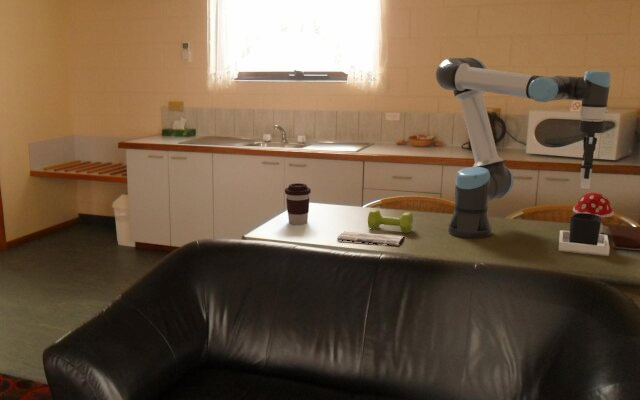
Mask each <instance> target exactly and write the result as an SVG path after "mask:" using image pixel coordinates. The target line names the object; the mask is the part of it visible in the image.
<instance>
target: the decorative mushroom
mask: <svg viewBox="0 0 640 400" xmlns="http://www.w3.org/2000/svg"><path fill="white" fill-rule="evenodd" d="M572 211H573V213H575V214H577V213H588V214H594V215H597V216H600V217H601V218H609V217H612V216H614V215H615V211H614V209H612V206H611V202H610V200H609V199H608V197H606V196H605V195H604V194H601V193H599V192H588V193H585V194H583V195H582V196H581V197H580V198H579V199H578V201H577V203H576V204H575V205H574V206H573V209H572ZM603 232H604V225H603V223H602V221H601V225H600V231H599V234H602V233H603Z"/></svg>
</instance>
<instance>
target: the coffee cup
mask: <svg viewBox="0 0 640 400" xmlns="http://www.w3.org/2000/svg"><path fill="white" fill-rule="evenodd" d="M311 190H312V189H311V188H310V187H308V185H307V184H305V183H299V182H297V183H296V182H295V183H291V184H289V185H288V187H285V188H284V193H285V195H286V210H287V212H286V213H287V214H288V215H287V216H288V223H289V224H291V225H295V224H301V225H305V224H307V223H308V218H309V209H310V194H311Z"/></svg>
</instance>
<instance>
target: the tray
mask: <svg viewBox="0 0 640 400" xmlns="http://www.w3.org/2000/svg"><path fill="white" fill-rule="evenodd" d="M569 234H570V230H563V229H562V230H559V237H558V252H564V253H565V252H567V253H574V254H583V255H594V256H599V257H600V256H601V257H610V249H611V248H610V244H609V243H610V242H609V237H608V234H602V233H601V234H599V238H598V243H597V245H589V244H579V243H570V242H569Z"/></svg>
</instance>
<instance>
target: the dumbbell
mask: <svg viewBox="0 0 640 400" xmlns="http://www.w3.org/2000/svg"><path fill="white" fill-rule="evenodd" d="M413 217H414V216H413V213H411V212H409V211H408V212H406V211H405V212H404V213H403V214H401V215H400V217H395V216H394V217H393V216H383V215H382V214H381V211H380V210H379V209H375V208H374V209H371V210H370V211H369V212H368V217H367V226H368V228H369V229H370V228H371V229H370V230H373V229H375V230H378V228H380V226H381V225H384V226H386V225H387V226H399V228H400V231H401V232H402V233H403V232H405V233H404V234H409V233H411V231H412V229H413V226H414V225H413V224H414V218H413Z"/></svg>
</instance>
